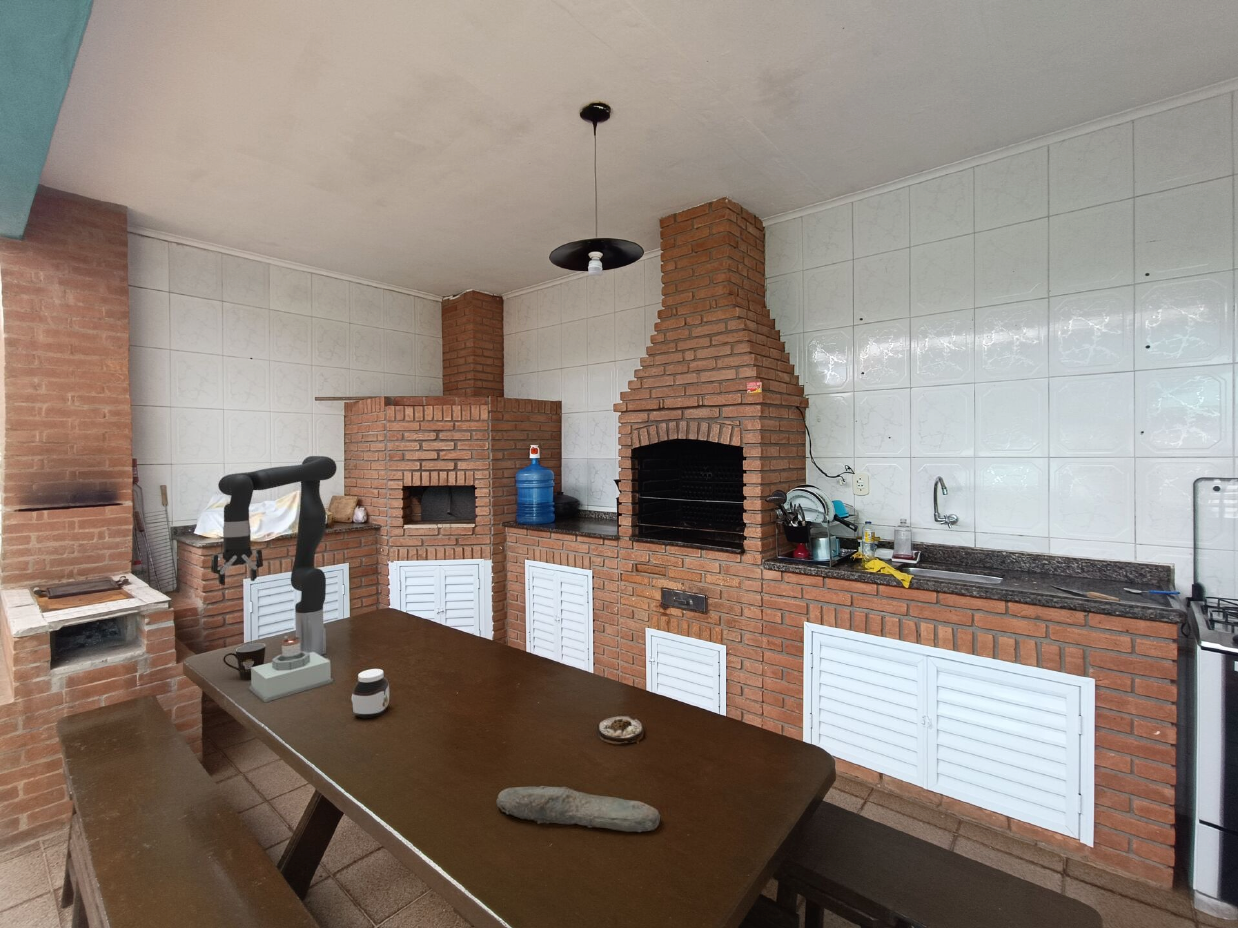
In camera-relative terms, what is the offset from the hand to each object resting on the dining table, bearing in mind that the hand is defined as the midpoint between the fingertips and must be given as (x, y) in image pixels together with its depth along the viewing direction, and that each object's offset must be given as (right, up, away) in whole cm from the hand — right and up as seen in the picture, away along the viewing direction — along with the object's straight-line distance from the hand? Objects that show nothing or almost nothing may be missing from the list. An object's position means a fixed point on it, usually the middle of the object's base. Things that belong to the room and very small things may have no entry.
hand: (237, 582), depth 189 cm
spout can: (+20, -26, -3) cm, 33 cm away
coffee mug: (0, -33, +5) cm, 34 cm away
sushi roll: (+127, -34, -36) cm, 137 cm away
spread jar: (+53, -34, -21) cm, 66 cm away
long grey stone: (+118, -35, -70) cm, 142 cm away
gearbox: (+20, -33, -3) cm, 39 cm away
